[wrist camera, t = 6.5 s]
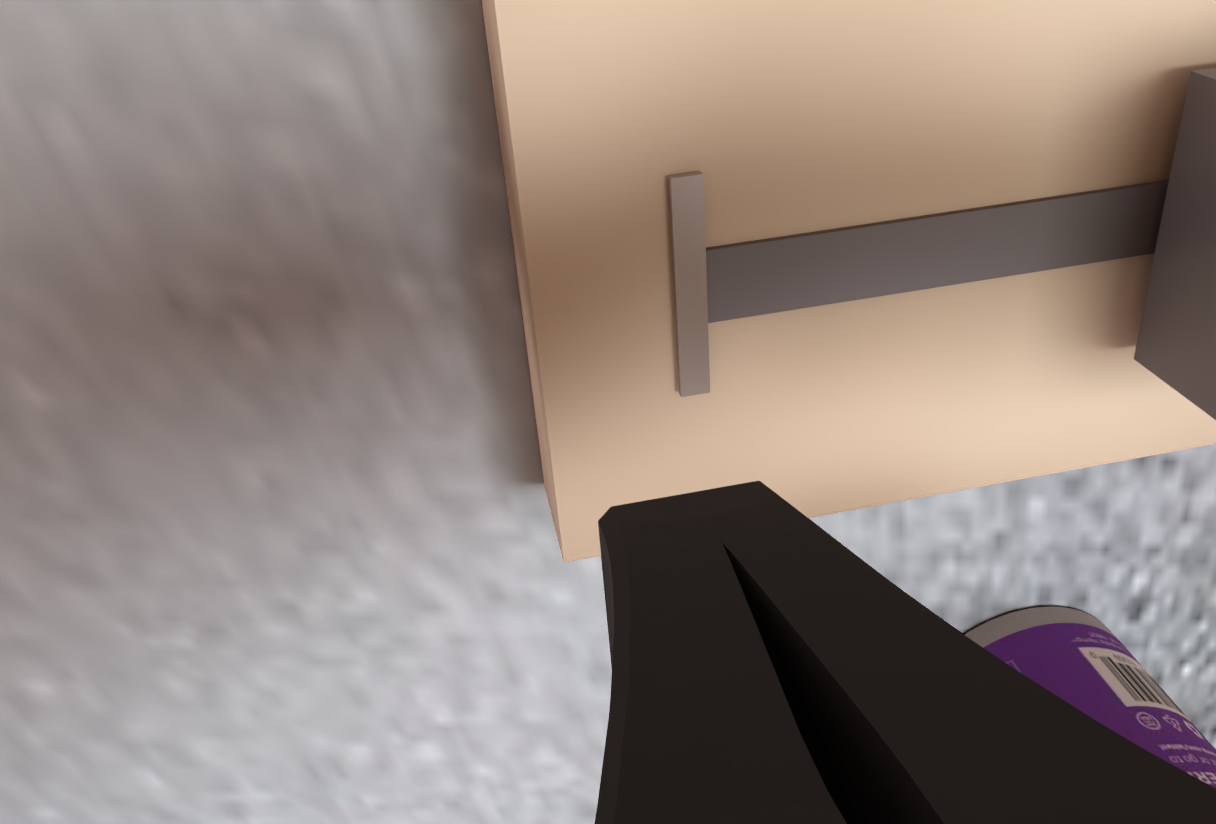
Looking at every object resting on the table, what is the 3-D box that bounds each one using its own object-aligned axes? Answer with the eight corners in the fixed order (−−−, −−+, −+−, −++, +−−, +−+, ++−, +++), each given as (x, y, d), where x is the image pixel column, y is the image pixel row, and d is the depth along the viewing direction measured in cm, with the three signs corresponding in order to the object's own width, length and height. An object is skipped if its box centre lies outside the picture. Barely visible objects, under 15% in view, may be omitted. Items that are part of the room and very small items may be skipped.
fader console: (1331, 349, 19) (1434, 410, 17) (544, 486, 17) (565, 568, 15) (1487, -166, 15) (1645, -159, 13) (474, -55, 13) (491, -31, 11)
